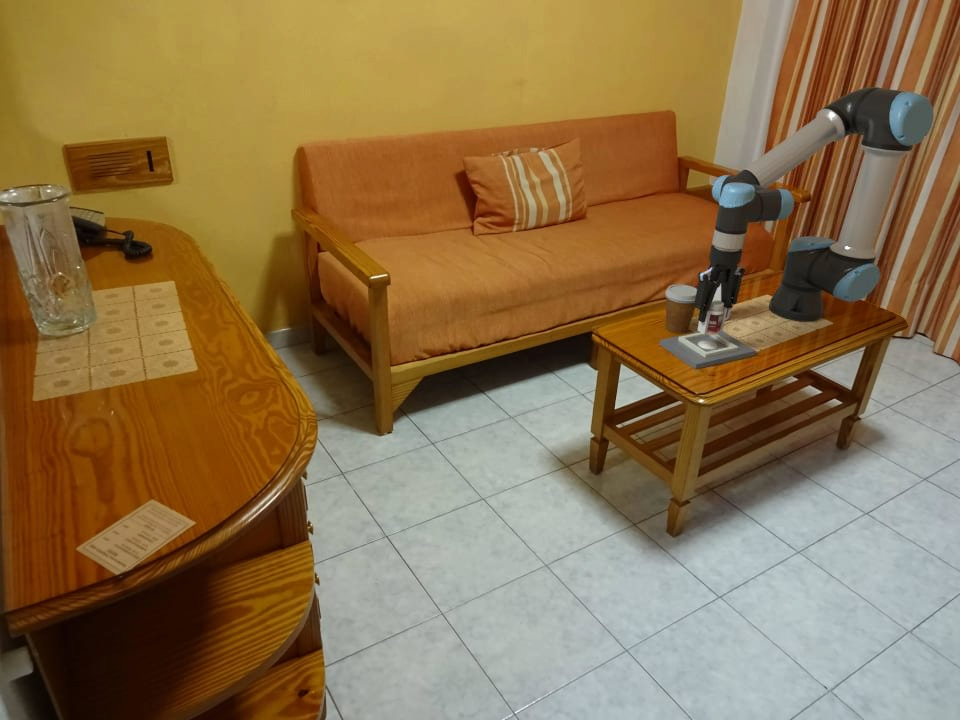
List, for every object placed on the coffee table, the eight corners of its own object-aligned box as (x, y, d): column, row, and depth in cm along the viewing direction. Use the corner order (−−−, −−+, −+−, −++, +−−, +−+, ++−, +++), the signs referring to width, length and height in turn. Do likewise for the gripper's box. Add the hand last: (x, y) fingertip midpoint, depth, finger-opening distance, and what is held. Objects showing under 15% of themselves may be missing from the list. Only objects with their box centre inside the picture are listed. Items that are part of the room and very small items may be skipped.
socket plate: (716, 332, 194) (718, 325, 193) (755, 355, 182) (757, 347, 180) (659, 344, 186) (660, 336, 185) (695, 369, 174) (697, 360, 173)
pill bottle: (697, 331, 181) (703, 302, 177) (705, 326, 184) (711, 297, 180) (714, 337, 178) (720, 307, 174) (722, 331, 182) (728, 302, 178)
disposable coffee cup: (669, 319, 202) (675, 281, 196) (699, 328, 196) (706, 289, 191) (653, 329, 195) (659, 290, 189) (684, 339, 190) (691, 299, 184)
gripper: (743, 238, 177) (726, 320, 187) (688, 246, 170) (674, 330, 181) (765, 247, 170) (745, 331, 181) (709, 255, 164) (692, 341, 175)
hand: (710, 330), depth 181 cm, fingers closed on pill bottle, 5 cm apart
